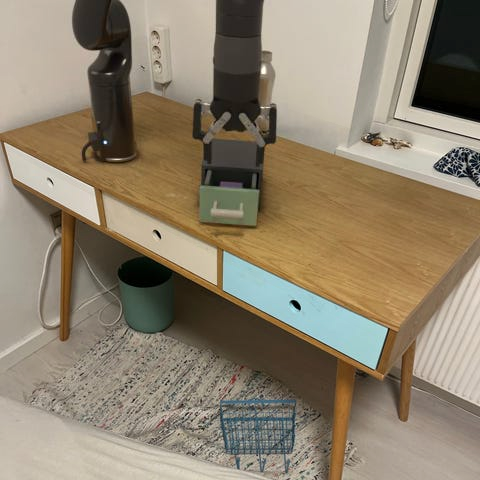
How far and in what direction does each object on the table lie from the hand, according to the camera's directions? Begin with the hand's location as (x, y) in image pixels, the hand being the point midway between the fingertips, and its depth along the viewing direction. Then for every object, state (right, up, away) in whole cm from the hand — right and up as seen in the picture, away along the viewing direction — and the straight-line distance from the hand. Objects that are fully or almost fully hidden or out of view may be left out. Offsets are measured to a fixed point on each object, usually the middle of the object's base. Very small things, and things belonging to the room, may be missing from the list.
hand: (233, 163), depth 90 cm
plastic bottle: (+7, +26, +53) cm, 60 cm away
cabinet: (-1, +1, +23) cm, 23 cm away
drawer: (-1, -6, +14) cm, 15 cm away
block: (-1, -5, +14) cm, 15 cm away
